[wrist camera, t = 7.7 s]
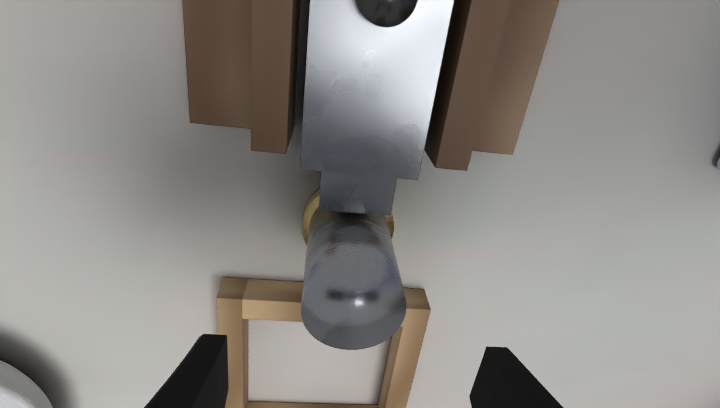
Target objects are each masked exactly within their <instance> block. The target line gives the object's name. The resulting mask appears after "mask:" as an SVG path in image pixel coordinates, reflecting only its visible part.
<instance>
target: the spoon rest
mask: <svg viewBox="0 0 720 408" xmlns="http://www.w3.org/2000/svg"><path fill="white" fill-rule="evenodd" d="M0 408H53V407H52V405H51V403H50V401H49V399H48V398H47V397H46V395H45V394H44V393H43V391H42V390H41V389H40V388H39V387H38V386H37V385H36V384H35V383H34V382H33V381H32V380H31V379H30V378H29V377H27V376H26V375H25V374H23V373H22V372H20V371H19V370H18V369H16V368H15V367H13V366H11V365H9V364H7V363H5V362H3V361H1V360H0Z"/></svg>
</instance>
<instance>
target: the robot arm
mask: <svg viewBox="0 0 720 408" xmlns="http://www.w3.org/2000/svg"><path fill="white" fill-rule="evenodd" d="M717 167H718V169H719V170H720V158H719V160H718V163H717ZM228 390H229V383H228V346H227V335H215V334H203V335H202V336H200V337H199V338H198V340H197V341H196V343H195V344H194V346H193V347H192V348H191V350H190V351H189V353H188V354H187V355H186V357H185V358H184V359H183V361H182V362H181V363H180V365H179V366H178V367H177V368H176V370H175V371H174V372H173V373H172V375H171V376H170V377H169V379H168V380H167V381H166V382H165V383H164V385H163V386H162V387H161V388H160V389H159V391H158V392H157V393H156V394H155V395H154V397H153V398H152V399H151V400H150V401H149V403H148V404H147V405H146V406H145V407H144V408H225V404H226V399H227V394H228ZM470 401H471V406H472V408H563V407H562V406H561V405H560V404H559V403H558V402H557V400H556V399H555V398H554V397H553V396H552V395H551V394H550V393H549V392H548V391H547V390H546V389H545V388H544V387H543V386H542V384H541V383H540V382H539V381H538V380H537V379H536V378H535V377H534V376H533V375H532V374H531V373H530V371H529V370H528V369H527V368H526V367H525V366H524V365H523V364H522V363H521V362H520V361H519V360H518V358H517V357H516V356H515V355H514V354H513V353H512V352H511V351H510V350H509V349H508V348H505V347H486V350H485V353H484V356H483V359H482V362H481V364H480V367H479V370H478V373H477V376H476V379H475V382H474V385H473V387H472V390H471V393H470Z"/></svg>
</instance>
